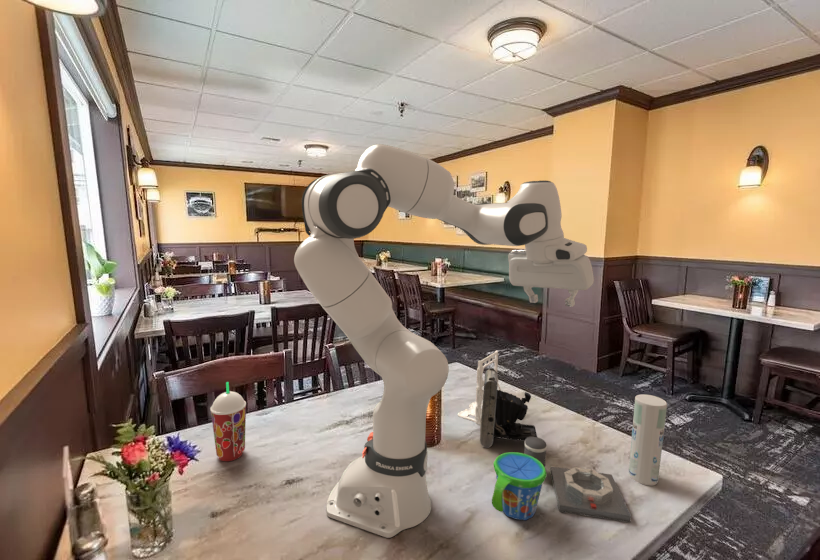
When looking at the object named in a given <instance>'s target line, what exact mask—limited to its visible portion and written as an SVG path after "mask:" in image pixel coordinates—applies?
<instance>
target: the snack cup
mask: <svg viewBox="0 0 820 560" xmlns="http://www.w3.org/2000/svg"><path fill="white" fill-rule="evenodd" d="M493 468H494V469H493V470H494V473H495V474H496V482H495V484H494V489H493V495H492V498H491V505H492V507H493V508H494V509H495V510H496V511H498V512H500V513H502V512H503V513H504V515H506V516H507V517H510V518H512V519H515V520H520V521H521V520H523V521H527V520H529V519H531V518H533V516H534V515H535V513H536V511H537V507H538V503H539V500H540V496H541V492H542V486H543V483H544V482H545V480H546V479H547V471H546V466H545V467H544V466H543V464H542V463H541V462H540V461H538V460H537V459H535V458H534V457H532V456H529V455H526V454H524V452H517V451H516V452H515V451H514V452H513V451H511V452H503V453H502V454H499V455H497V456H496V458H495V460H494V461H493Z"/></svg>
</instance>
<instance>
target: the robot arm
mask: <svg viewBox="0 0 820 560" xmlns="http://www.w3.org/2000/svg"><path fill="white" fill-rule="evenodd" d="M454 194H455V181H454V178H453V176H452V174H451V172H450V171H449V170H448V169H446V168H445V167H444V166H443V165H441V164H439V163H438V162H435V161H434V160H432V159H430V158H427V157H425V156H423V155H421V154H418V153H416V152H413V151H411V150H407V149H404V148H400V147H396V146H392V145H388V144H380V143H378V144H377V143H376V144H373V145H371V146H368V148H366V150H365V151H364V152H363V153H362V154H361V155H360V157H359V160H358V162H357V165H356V168H355V169H354V170H351V171H346V172H333V173H328V174H326V175H323V176H321V177H318V178H315V179H314V180H313V181H311V182H310V183H309V184H308V185H307V186H306V188H305V189H304V192H303V194H302V197H301V211H302V217H303V222H304V230H305V233H306V234H307V235H308V237H307V238H305V239H304V240H303V241H302V242H301V243H300V244H299V246H298V247H297V249H296V251H295V254H294V256H293V257H294V258H293V263H294V266H295V267H294V268H295V269H296V270H297V273H298V274H299V276H300V279H301V280H302V281H303V283H304V284H305V286H306V288H307V289H308V290H309V292H310V293H311V295H312V296H313V298H314V299H315V300H316V301H317V303H318V304H319V305H320V307H322V309H323V310H324V311H325V312H326V313H327V314H328V316H329V317H330V319H332V320H333V322H334V323H335V324H336V326H338V328H339V329H340V330H341V331H342V332H343V333H344V335H345V336H346V337H347V339H348V341H350V343H351V345H352V346H353V348H354V349H355V350H356V352H357V353H358V355H359V356H360V357H361V359H362V360H363V361H364V362H365V364H366V366H368V367H369V368H370V369H371V370H372V371H373V372H375V373H376V374H377V375H378V376H379V377H380V378H382V382H383V391H382V392H383V393H382V395H381V400H380V401H379V402H377V404H376V405H375V406H374V408H373V412H372V413H373V414H372V431H371V432H369V435H368V437H367V439H366V440H367V441H366V442H365V445H364V446H363V447H364V448H363V450H362V453H361V454H362V455H360V456H359V457H357V458H356V459H354V460H353V461H351V462H350V463H349V464H348V465H347V466H346V468H345V470H344V471H343V473H342V474H341V477H340V480H338V482H337V483H336V484H335V485H334V487H333V488H332V490H331V492H330V494H329V496H328V497H327V501H326V507H325V512H326V516H327V517H329V518H331V519H333V520H336V521H338V522H341V523H344V524H347V525H350V526H353V527H355V528H358V529H361V530H363V531H366V532H370V533H373V534H375V535H378V536H382V537H383V538H387V539H389V538H393V537H394V536H396V535H397V534H399V533H400V532H401V531H404V530H406V529H410V528H413V527H416V526H418V525H419V524H422V522H424V521H425V520H426V519H427V517H429V515H430V513H431V510H432V500H431V497H430V494H429V490H428V484H427V475H426V472H427V470H428V469H427V468H428V447H427V446H428V444H427V441H426V421H427V420H426V419H427V411H428V406H429V403H430V400H431V399H432V397H434V396H435V395H436V394H438V393H439V392H440V391H441V390H442V389H443V387H444V386H445V384H446V382H447V380H448V377H449V372H450V371H449V370H450V369H449V368H450V367H449V366H450V365H449V363H448V362H449V361H448V359H447V357H446V355H445V354H444V353H443V352H442V351H441V350H440V349H439V348H438V347H437V346H436V345H435V344H434V343H432V342H431V341H430V340H429V339H427V338H425V337H422V336H420V335H418V334H416V333H414V332H412V331H410V330H409V329H408V328H406V327H405V326H404V325H403V324H402V322H400V320H399V318H397V315H396V314H395V311H394V309H393V302H392V299H391V298H390V296H389V295H388V294H387V292H386V291H385V290H384V288H383V287H382V285H381V283H379V281H378V279H376V277H375V276H374V275H373V273H372V272H371V270H370V269H369V268H368V267H367V265H366V264H365V263H364V261H363V260H362V258H360V257H359V254H358V252H357V249H356V246H355V242H354V239H359V238H362V237H365V236H367V235H369V234H370V233H372V232H373V231H374V230H375V229H376V228H377V226H378V225H379V224H380V222H381V221H382V218H383V216H384V214H385V212H386V210H387V209H388V208H391V209H395V210H396V211H399V212H402V213H405V214H408V215H410V216H415V217H418V218H423V219H429V220H431V219H432V220H439V221H441V222H444V223H446V224H449V225H450V226H453V227H455V228H458V229H460V230H462V231H463V232H464V233H465V234H466V235H467V237H469V238H470V240H472V241H473V242H474V243H476V244H477V245H482V246H483V245H494V246H495V245H497V246H509V247H520V246H524V248H523V249H512V250H511V251H510V252H509V253H508V255H507V257H508V258H507V259H508V279H509V282H510V284H511V285H512V286H515V287H523V291H524V293H525V294H526V295H527V296H528V299H529V303H532V304H536V303H538V302H539V298H538V297H539V295H538V294H535V292H534V290H533V289H532V288H542V289H558V290H559V289H560V290H567V291H568V294H570V295H569V297H567V298H565V299H564V302H565V304H564V305H565V307H570V308H571V307H574V306H575V305H576V304H575V303H576V302H575V298H576V296H577V294H578V293H579V291H587V290H589V289H590V288H591V287H592V286H593V285H594V283H595V280H594V279H595V278H594V277H595V276H594V272H593V266H592V262H591V260H590V258H589V256H587V255H586V253H587V252H588V247H587V245H586V244H584V243H582V242H578V241H575V240H571V239H568V238H566V237H565V234H564V230H563V229H562V224H561V223H562V207H561V202H560V201H561V200H560V196H559V191H558V189H557V186H556V184H555V183H554V182H552V181H551V180H532V181H526V182H523V183H521V184H520V186H519V189H518V190H517V192H516V193H515V195H514V196H513V197H511V198H510V199H509V200H507V201H506V202H497V203H495V202H494V203H490V202H489V203H487V202H486V203H485V202H484V203H482V202H481V203H474V204H473V203H470V202H469V201H466V200H464V199H463V198H460V197H458V196H456V195H454Z"/></svg>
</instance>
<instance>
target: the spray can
mask: <svg viewBox="0 0 820 560" xmlns="http://www.w3.org/2000/svg"><path fill="white" fill-rule="evenodd" d="M633 407H634V408H633V419H632V420H633V421H632V428H631V429H632V430H631V441H630V452H629V462H628V463H629V464H628V475H629V477H630V478H631V479H632V480H633V481H635V482H636V483H638V484H641V485H644V486H655V485H657V484H658V482H659V476H660V467H661V459H662V450H663V444H664V443H663V441H664V434H665V426H666V419H667V411H668V410H667V409H668V403H667V401H666V400H664V399H663V398H661V397H659V396H655V395H651V394H646V393H645V394H637V395H636V396H635V397H634V406H633Z"/></svg>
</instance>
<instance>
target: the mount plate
mask: <svg viewBox="0 0 820 560" xmlns="http://www.w3.org/2000/svg"><path fill="white" fill-rule="evenodd" d="M549 470H550V473H549V474H550V477H551V481H552V486H553V492H554V495H555V499H556V503H557V508H558V511H559V512H562V513H568V514H574V515H580V516H586V517H587V516H588V517H594V518H599V519H607V520H612V521H619V522H620V521H621V522H624V523H625V522H626V523H631V519H632V515H631V512H630V510H629V509H628V506H627V504H626V502H625V500H624V497H623V496H622V494H621V491H620V489H619V487H618V485H617V483H616V481H615V478H614V477H613V475H612V474H611V473H610V474H609V473H603V472H602V473H601V472H597V471H596V470H594V469H592V468H583V467H575V466H574V467H572V468H565V467H557V466H550V469H549Z"/></svg>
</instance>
